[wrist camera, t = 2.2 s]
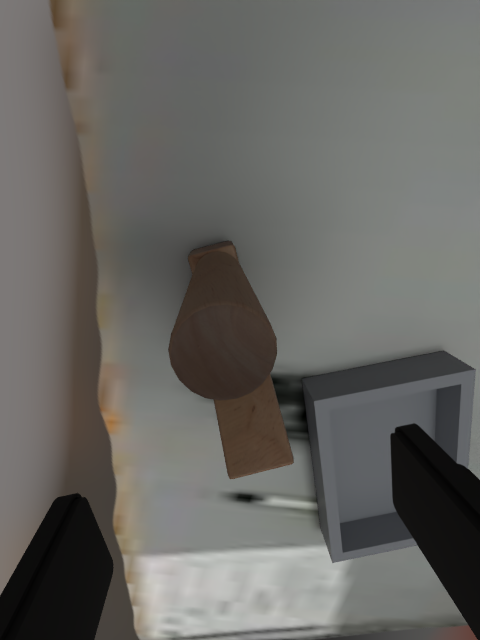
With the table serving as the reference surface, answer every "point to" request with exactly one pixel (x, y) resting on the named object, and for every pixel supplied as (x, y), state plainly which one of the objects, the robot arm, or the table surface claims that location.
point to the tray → (379, 442)
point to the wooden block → (231, 360)
